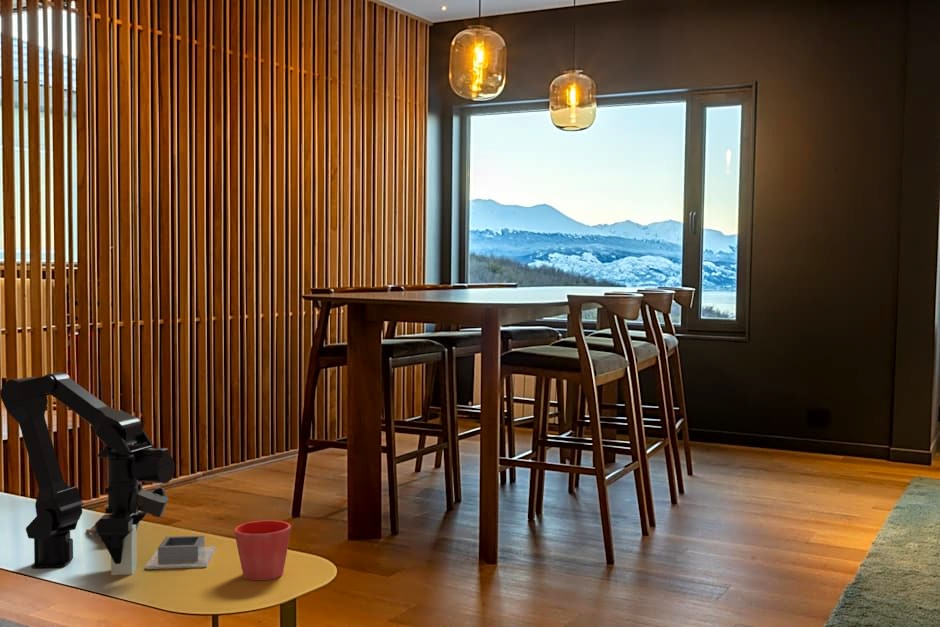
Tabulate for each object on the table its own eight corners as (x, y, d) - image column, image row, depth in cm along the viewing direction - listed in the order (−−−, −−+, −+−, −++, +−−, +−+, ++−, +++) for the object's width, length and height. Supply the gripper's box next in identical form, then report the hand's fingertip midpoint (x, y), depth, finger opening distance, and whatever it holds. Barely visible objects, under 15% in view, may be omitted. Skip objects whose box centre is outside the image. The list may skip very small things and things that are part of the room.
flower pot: (235, 568, 189) (234, 521, 189) (289, 564, 192) (289, 518, 192) (234, 585, 179) (234, 535, 179) (292, 581, 182) (291, 532, 181)
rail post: (111, 575, 185) (110, 530, 185) (116, 568, 189) (115, 525, 189) (132, 574, 185) (131, 529, 185) (136, 568, 189) (136, 524, 189)
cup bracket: (145, 569, 189) (145, 550, 189) (158, 551, 201) (158, 534, 200) (206, 567, 190) (206, 548, 190) (215, 549, 202) (215, 532, 202)
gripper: (154, 489, 178) (155, 569, 179) (173, 469, 197) (174, 542, 197) (93, 491, 177) (94, 571, 178) (119, 470, 195) (120, 543, 196)
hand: (124, 556), depth 187 cm, fingers open, 9 cm apart
